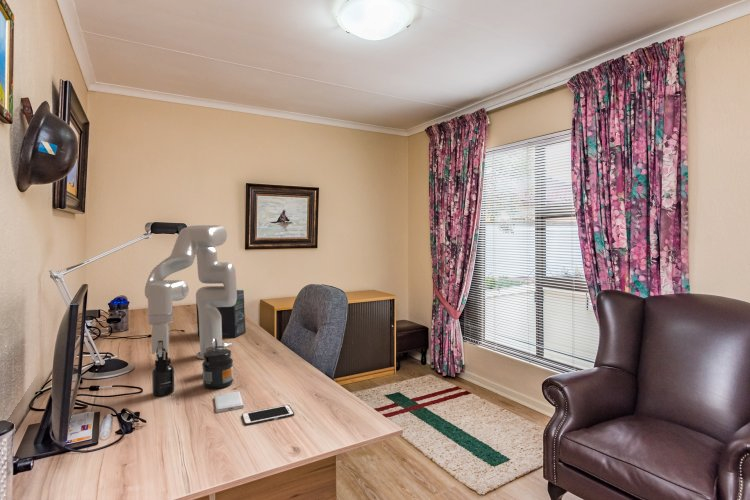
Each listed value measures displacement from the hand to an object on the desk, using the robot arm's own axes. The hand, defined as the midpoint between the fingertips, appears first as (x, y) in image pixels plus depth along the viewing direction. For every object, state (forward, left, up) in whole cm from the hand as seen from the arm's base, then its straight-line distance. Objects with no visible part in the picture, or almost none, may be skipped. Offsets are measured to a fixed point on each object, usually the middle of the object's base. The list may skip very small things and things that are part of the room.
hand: (162, 367), depth 142 cm
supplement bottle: (0, 0, -9) cm, 9 cm away
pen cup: (-22, -4, -9) cm, 25 cm away
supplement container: (-16, +8, -10) cm, 20 cm away
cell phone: (-11, +44, -10) cm, 46 cm away
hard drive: (-9, +26, -10) cm, 29 cm away
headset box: (-58, -59, -10) cm, 84 cm away
